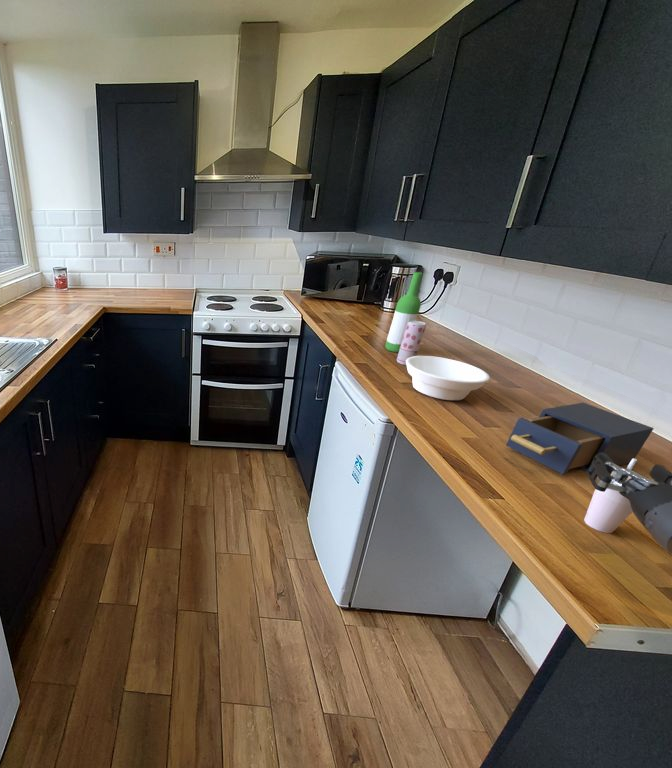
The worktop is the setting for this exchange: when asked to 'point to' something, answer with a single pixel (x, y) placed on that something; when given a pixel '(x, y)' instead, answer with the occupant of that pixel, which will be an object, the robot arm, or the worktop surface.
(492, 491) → the worktop surface
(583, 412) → the cabinet
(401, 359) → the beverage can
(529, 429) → the drawer
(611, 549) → the worktop surface
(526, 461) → the worktop surface
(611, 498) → the smoothie
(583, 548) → the worktop surface
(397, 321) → the wine bottle
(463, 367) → the bowl
